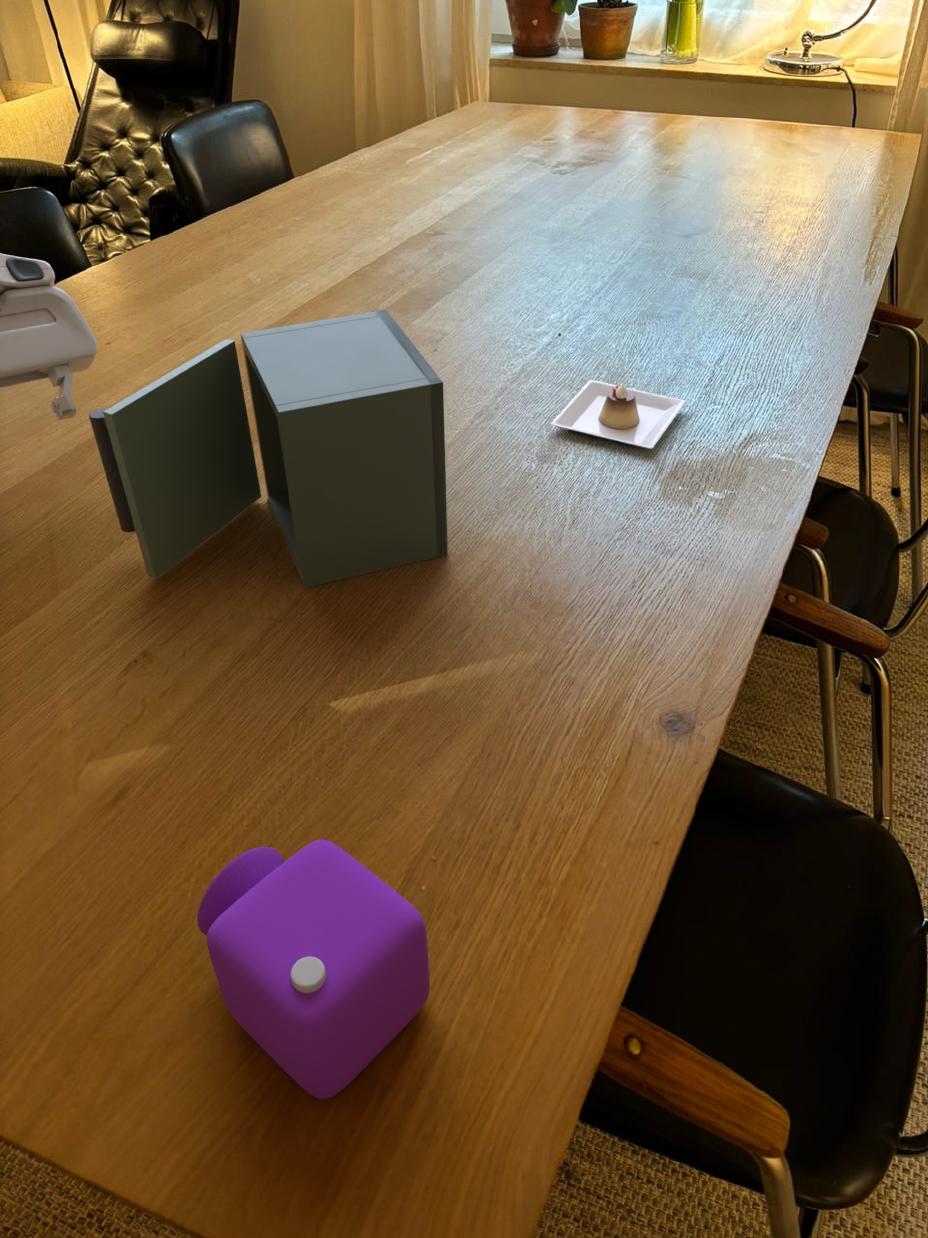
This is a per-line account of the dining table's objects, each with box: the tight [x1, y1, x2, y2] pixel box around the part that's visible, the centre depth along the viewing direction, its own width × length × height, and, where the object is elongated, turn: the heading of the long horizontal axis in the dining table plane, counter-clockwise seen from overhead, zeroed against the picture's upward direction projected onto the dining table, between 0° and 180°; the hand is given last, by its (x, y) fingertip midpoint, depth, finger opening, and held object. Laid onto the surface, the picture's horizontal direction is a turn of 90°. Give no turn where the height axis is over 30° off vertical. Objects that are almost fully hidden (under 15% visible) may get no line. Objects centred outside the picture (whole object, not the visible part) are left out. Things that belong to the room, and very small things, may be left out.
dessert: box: [550, 379, 687, 450], centre depth 112 cm, size 12×12×5 cm
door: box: [88, 338, 262, 580], centre depth 92 cm, size 6×16×17 cm, turn 151°
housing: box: [240, 309, 449, 589], centre depth 93 cm, size 14×16×18 cm
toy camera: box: [197, 838, 431, 1100], centre depth 57 cm, size 11×14×10 cm
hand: (19, 428), depth 92 cm, fingers open, 8 cm apart
